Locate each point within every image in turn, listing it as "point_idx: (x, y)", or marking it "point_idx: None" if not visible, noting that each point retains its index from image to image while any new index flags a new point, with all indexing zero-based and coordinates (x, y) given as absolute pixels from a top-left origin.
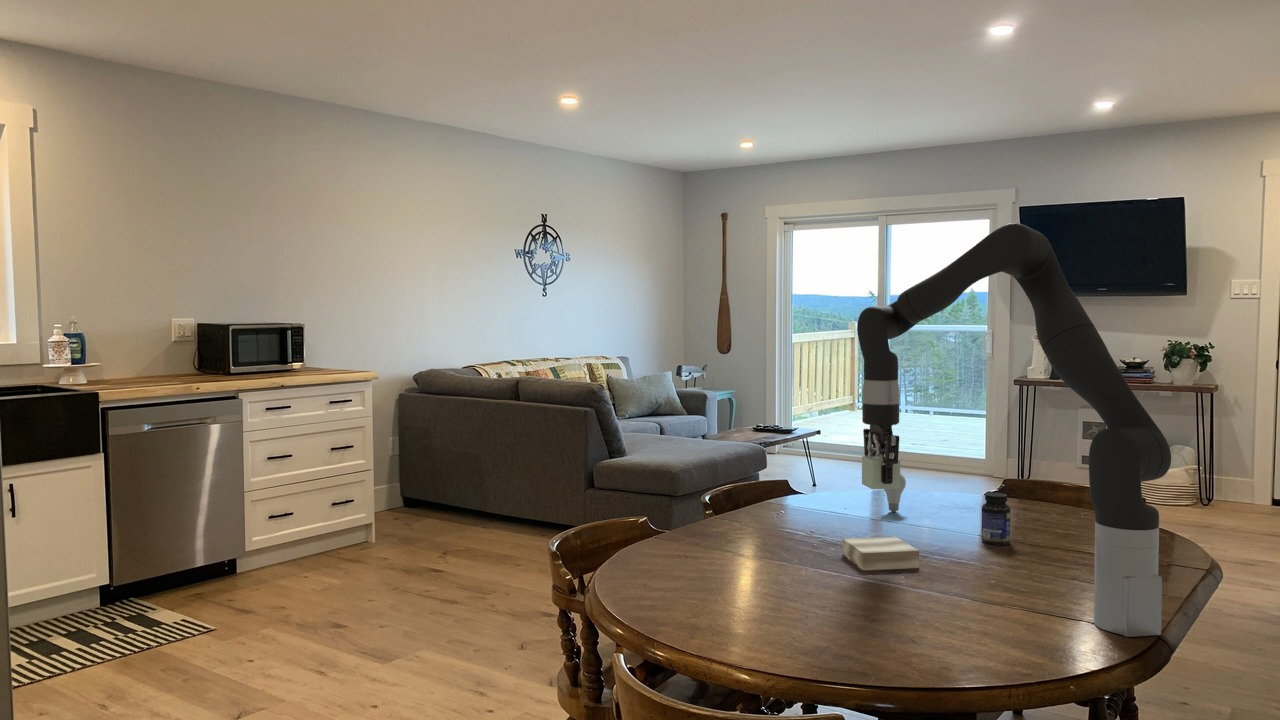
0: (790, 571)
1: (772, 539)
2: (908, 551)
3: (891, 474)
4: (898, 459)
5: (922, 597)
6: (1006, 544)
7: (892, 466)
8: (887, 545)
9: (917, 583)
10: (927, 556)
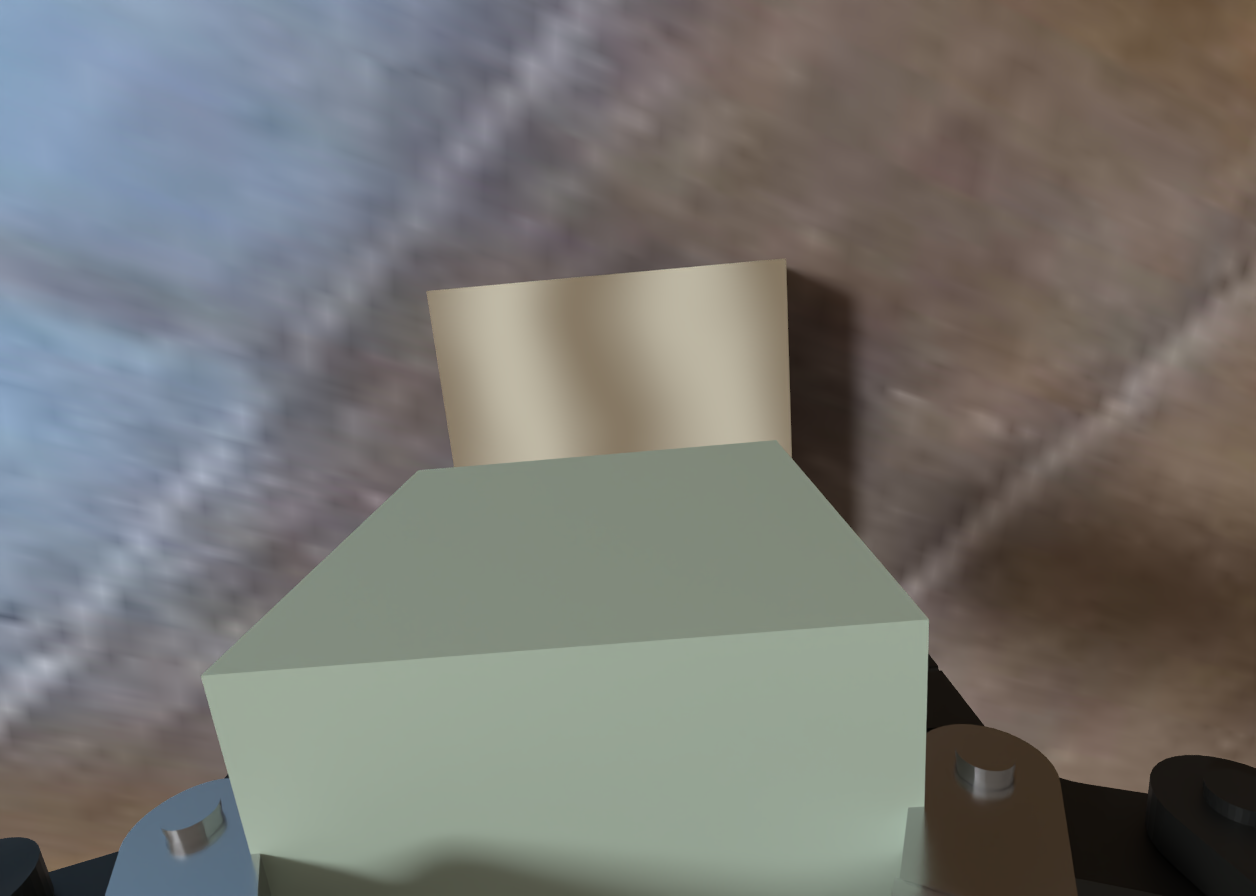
0: None
1: None
2: (786, 328)
3: (940, 676)
4: (890, 651)
5: (1237, 416)
6: None
7: (937, 723)
8: (647, 412)
9: (1030, 365)
10: (536, 123)
